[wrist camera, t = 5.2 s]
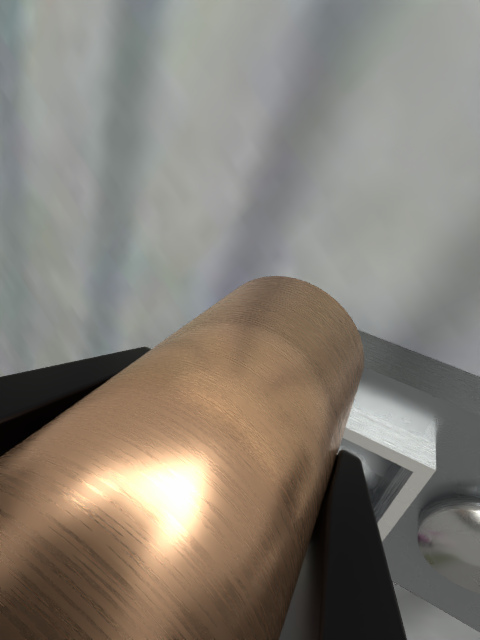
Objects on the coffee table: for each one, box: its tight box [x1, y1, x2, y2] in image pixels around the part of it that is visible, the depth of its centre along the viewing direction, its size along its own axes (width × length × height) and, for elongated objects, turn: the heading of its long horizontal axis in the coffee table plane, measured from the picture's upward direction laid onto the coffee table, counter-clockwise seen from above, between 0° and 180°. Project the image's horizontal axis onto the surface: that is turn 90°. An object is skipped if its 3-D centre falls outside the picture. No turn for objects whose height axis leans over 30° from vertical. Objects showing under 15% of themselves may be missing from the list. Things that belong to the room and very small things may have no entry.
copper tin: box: [0, 276, 364, 640], centre depth 7 cm, size 4×4×8 cm
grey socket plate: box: [337, 330, 480, 632], centre depth 18 cm, size 18×12×4 cm, turn 78°
